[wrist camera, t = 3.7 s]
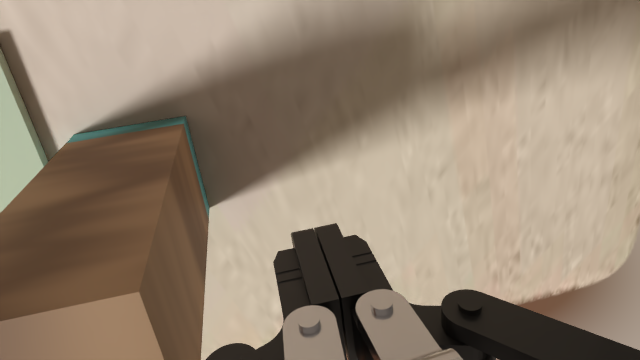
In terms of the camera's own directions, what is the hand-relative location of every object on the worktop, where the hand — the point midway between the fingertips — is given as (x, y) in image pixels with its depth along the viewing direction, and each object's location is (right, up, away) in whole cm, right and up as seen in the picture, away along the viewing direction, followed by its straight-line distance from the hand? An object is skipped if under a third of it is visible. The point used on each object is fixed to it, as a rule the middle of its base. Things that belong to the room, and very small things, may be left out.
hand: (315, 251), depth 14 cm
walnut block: (-8, +3, +7) cm, 11 cm away
